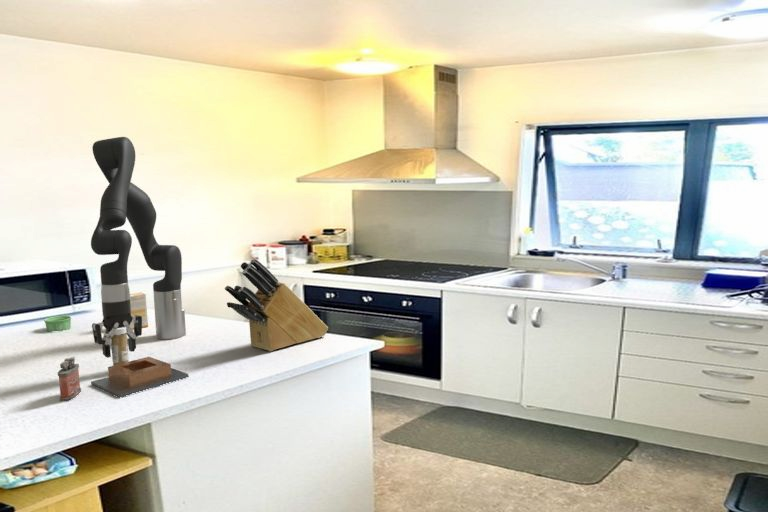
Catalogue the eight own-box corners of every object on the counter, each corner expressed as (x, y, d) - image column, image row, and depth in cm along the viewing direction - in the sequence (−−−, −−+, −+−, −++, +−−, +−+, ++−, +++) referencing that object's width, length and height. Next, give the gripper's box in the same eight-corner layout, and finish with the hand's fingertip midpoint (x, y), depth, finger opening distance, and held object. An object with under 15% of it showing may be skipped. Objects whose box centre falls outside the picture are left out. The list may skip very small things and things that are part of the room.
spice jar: (131, 371, 170) (127, 327, 168) (114, 374, 167) (110, 329, 165) (128, 367, 173) (125, 324, 172) (111, 370, 171) (108, 326, 169)
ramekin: (56, 326, 226) (55, 315, 226) (77, 326, 225) (76, 315, 224) (39, 332, 217) (38, 320, 217) (61, 332, 216) (60, 321, 216)
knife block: (225, 352, 188) (220, 258, 184) (309, 331, 213) (306, 248, 209) (245, 359, 180) (240, 261, 176) (329, 336, 206) (327, 250, 202)
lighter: (71, 390, 155) (68, 354, 153) (84, 390, 155) (81, 354, 154) (56, 402, 147) (53, 364, 145) (70, 401, 147) (67, 363, 146)
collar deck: (158, 366, 174) (157, 352, 174) (188, 377, 164) (187, 362, 164) (91, 385, 159) (89, 369, 158) (119, 398, 149) (118, 381, 148)
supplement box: (143, 324, 227) (141, 292, 225) (148, 326, 223) (146, 293, 221) (122, 328, 221) (119, 295, 219) (126, 330, 218) (123, 296, 216)
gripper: (133, 293, 175) (136, 346, 178) (84, 301, 164) (89, 357, 166) (146, 296, 171) (149, 350, 173) (96, 304, 160) (101, 362, 162)
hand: (119, 353), depth 170 cm, fingers open, 6 cm apart
